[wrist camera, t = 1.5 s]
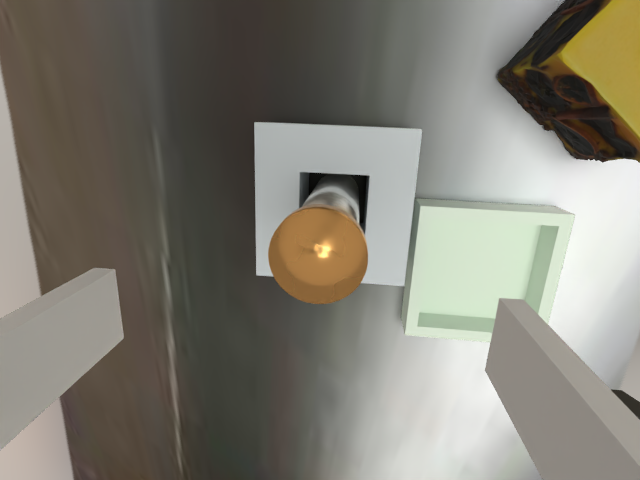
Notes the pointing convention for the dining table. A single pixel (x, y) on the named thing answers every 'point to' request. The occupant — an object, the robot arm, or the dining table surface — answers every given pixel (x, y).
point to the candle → (584, 78)
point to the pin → (321, 244)
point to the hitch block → (340, 158)
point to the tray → (480, 264)
